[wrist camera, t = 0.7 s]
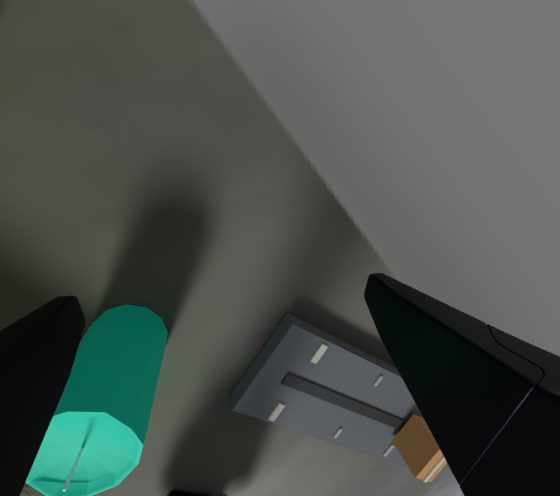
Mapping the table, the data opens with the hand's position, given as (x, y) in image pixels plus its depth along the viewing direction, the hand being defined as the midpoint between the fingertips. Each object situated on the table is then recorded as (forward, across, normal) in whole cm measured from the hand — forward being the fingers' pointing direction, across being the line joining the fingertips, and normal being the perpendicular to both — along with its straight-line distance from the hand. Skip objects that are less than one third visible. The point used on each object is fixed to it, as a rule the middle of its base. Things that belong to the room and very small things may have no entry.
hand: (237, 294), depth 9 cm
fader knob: (+8, -19, +27) cm, 34 cm away
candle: (+12, +8, +13) cm, 20 cm away
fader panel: (+11, -12, +23) cm, 29 cm away
